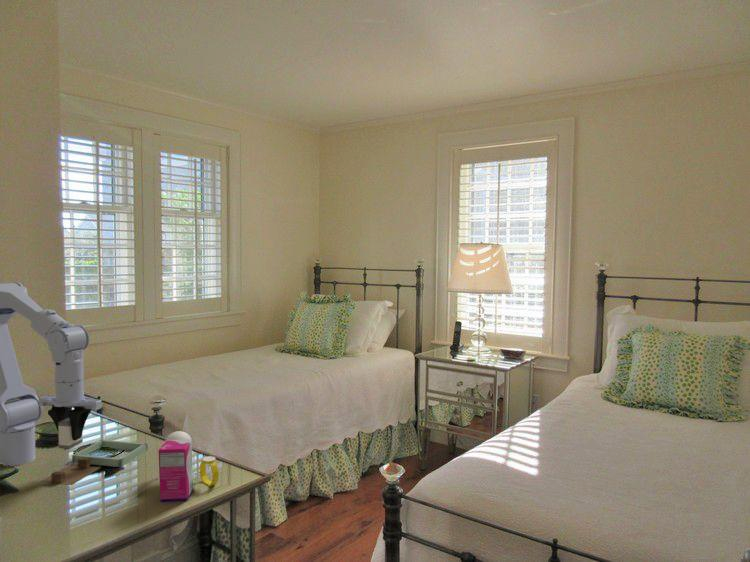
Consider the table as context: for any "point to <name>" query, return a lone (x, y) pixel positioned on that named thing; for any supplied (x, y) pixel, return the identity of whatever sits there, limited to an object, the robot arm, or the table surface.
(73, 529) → the table surface
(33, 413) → the robot arm
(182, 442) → the supplement box
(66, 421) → the block
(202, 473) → the watch
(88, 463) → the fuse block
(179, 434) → the lightbulb
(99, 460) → the parts tray
